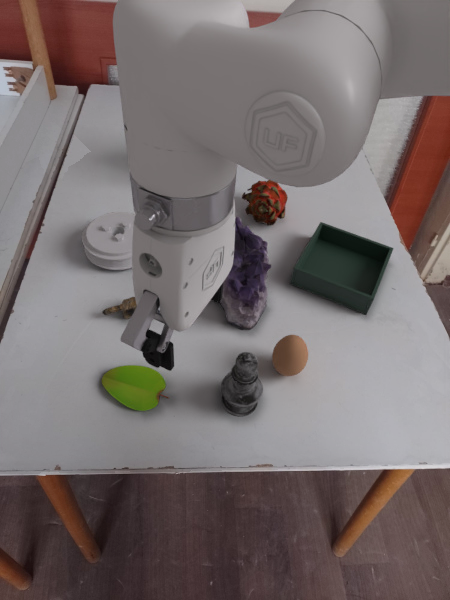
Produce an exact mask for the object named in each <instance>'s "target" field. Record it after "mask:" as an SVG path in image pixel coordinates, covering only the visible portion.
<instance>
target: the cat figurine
mask: <svg viewBox="0 0 450 600" xmlns="http://www.w3.org/2000/svg"><path fill="white" fill-rule="evenodd" d="M136 308H137V304H136V300H135V296H131V297H129V298H125V299H123V300H122V302H121V303H120V304H117V305H114V306H110V307H108V308H105V309H103V310H102V311H101V312H102V315H104V316H105V315H106V316H108V315H112V314H115V313H116V314H117V313H118V312H121V311H122V313H123V314H122V318H124V319H125V320H130V318H131V317H132V315H133V313H134V311H135V309H136Z"/></svg>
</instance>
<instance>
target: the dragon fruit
mask: <svg viewBox="0 0 450 600" xmlns="http://www.w3.org/2000/svg"><path fill="white" fill-rule="evenodd" d="M247 191H250V192H248V193H246V192H243V194H242V195H241V199H243V200H245V201H246V202H248V205H247V206H246V208H245V209H244V211H245V213H246V215H250V216H252V218H253V220H254V222H256V223H263V224H265V225H267V227H268V226H269V227H270V226H274V225H275V224H276V222H277V221H278V219H280V220H281V219H285V216H286V205H287V202H288V194H287V191H286V190H285V189H283V188H282V186H281V185H280V183H276V182H274V181H271V180H268V179H267V181H266V180H258V181H257V182H253V183H252V184H251V187H249V188H247Z"/></svg>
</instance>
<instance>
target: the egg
mask: <svg viewBox="0 0 450 600" xmlns="http://www.w3.org/2000/svg"><path fill="white" fill-rule="evenodd" d="M272 350H273V351H272V355H271V361H272V365H273V367H274V369H275V370H276V372H277V373H279V374H280V375H282V376H285V377H294V376H297V375H298V374H300V373H301V372H302V371H303V370H304V369H305V367H306V366H307V363H308V360H309V348H308V346H307V342H306V341H305V340H304V339H303V338H302V337H300V336H299V335H297V334H288V335H286V336H283V337H282V338H281V339H279V340H278V341H277V343H276V344H275V345H274V347H273V349H272Z"/></svg>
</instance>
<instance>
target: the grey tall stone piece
mask: <svg viewBox="0 0 450 600" xmlns="http://www.w3.org/2000/svg"><path fill="white" fill-rule="evenodd" d="M258 364H259V362H258V358H257V356H256V355H255V354H254V353H252V352H249V351H243V352H240V353H239V354H238V355H237V356H236V358H235V362H234V365H233V366H232V368H231V371H229V372H228V373H227V374H225V375H224V376H223V378H222V380H221V382H220V392H221V394H222V395H221V403H222V406H223V408H224V409H225V411H226V412H228V413H229V414H231V415H233V416H235V417H246V416H249V415H251V414H253V413H254V411H255V410H256V409H257V407H258V404H259V401H260V400H261V398H262V396H263V392H264V385H263V382H262V380H261V379H260V377H259V371H258V369H257V368H258V366H259V365H258Z"/></svg>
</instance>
